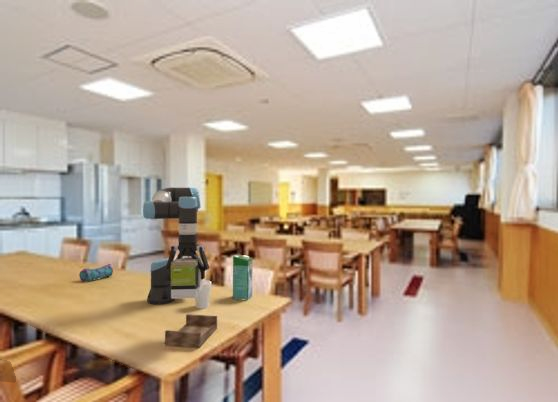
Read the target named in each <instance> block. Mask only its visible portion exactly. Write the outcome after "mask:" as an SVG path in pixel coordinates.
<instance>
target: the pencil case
mask: <svg viewBox="0 0 558 402" xmlns="http://www.w3.org/2000/svg"><path fill="white" fill-rule="evenodd" d="M111 265H112V264H110V263H108V264H106V265H103V266H101V267H97V268H91V269H90V268H88V267H87V268H86V267H85V268H84V269H83V268H82V270H81V271H80V272H79V273H78V275H79V279H80V281H81V282H82V281H88V282H90V281H89V280H94V279H98V278H103V277H106V278H108V277H107V276H110V277H111V276H112V275H113V273H114V270H113V267H112V266H111ZM103 279H104V278H103ZM94 281H95V280H94Z"/></svg>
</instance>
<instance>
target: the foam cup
mask: <svg viewBox="0 0 558 402" xmlns="http://www.w3.org/2000/svg"><path fill="white" fill-rule="evenodd" d="M211 291H212V281H210V280H205V279H203V286H202V289H201V291H200V292H199V294H198V295H197V296H196V298H194V300H195V301H194V302H195V307H196V308H197V309H204V310H205V309H207V308H209V303H210V296H211Z"/></svg>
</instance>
